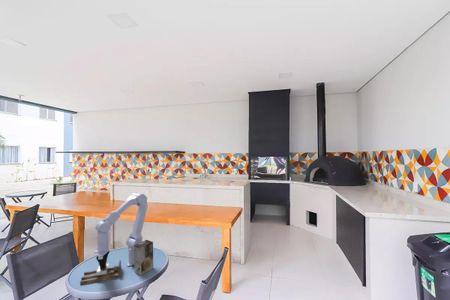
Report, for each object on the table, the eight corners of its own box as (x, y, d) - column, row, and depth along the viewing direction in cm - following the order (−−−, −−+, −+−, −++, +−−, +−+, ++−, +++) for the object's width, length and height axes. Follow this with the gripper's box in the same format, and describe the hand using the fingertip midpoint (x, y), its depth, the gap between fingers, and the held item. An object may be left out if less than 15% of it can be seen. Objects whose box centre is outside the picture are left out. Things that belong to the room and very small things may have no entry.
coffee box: (146, 265, 133) (146, 239, 134) (153, 268, 130) (153, 241, 131) (133, 272, 126) (133, 244, 126) (141, 275, 122) (141, 247, 123)
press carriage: (109, 266, 127) (109, 256, 127) (106, 273, 119) (106, 262, 120) (99, 268, 125) (99, 258, 125) (96, 275, 118) (96, 264, 118)
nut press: (121, 268, 130) (121, 259, 130) (119, 277, 121) (119, 267, 121) (85, 274, 124) (85, 265, 124) (80, 284, 114) (80, 274, 114)
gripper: (98, 238, 128) (98, 261, 128) (92, 248, 115) (92, 274, 114) (111, 237, 131) (111, 259, 130) (106, 246, 117) (106, 271, 117)
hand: (103, 266), depth 122 cm, fingers closed on press carriage, 3 cm apart
